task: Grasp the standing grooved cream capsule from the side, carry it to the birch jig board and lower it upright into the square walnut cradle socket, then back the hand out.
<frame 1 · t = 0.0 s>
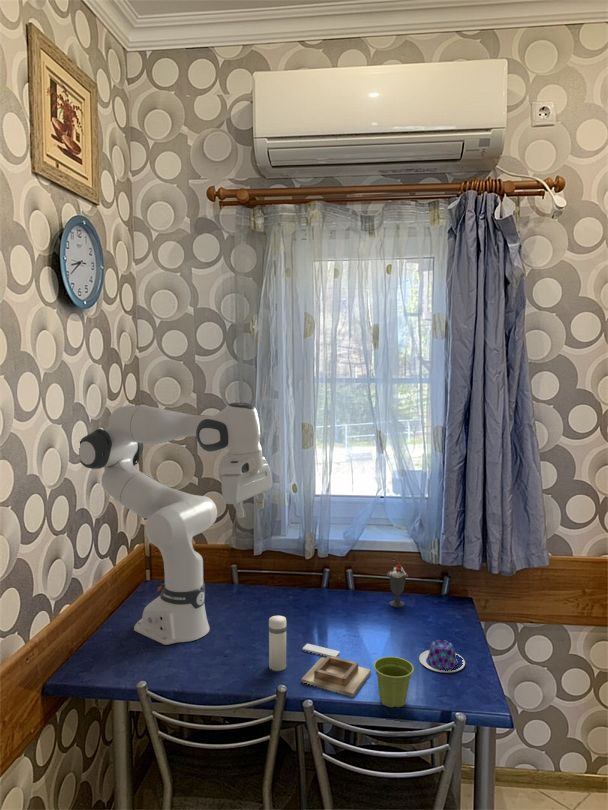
hand: (251, 512, 168), 39 cm above the table, tool pointing down, fingers open, 8 cm apart
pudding: (441, 663, 166), on the table
grooved cream capsule: (277, 666, 163), on the table
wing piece: (321, 653, 171), on the table
plant pot: (392, 701, 148), on the table
sundae: (397, 604, 201), on the table
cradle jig: (336, 677, 158), on the table
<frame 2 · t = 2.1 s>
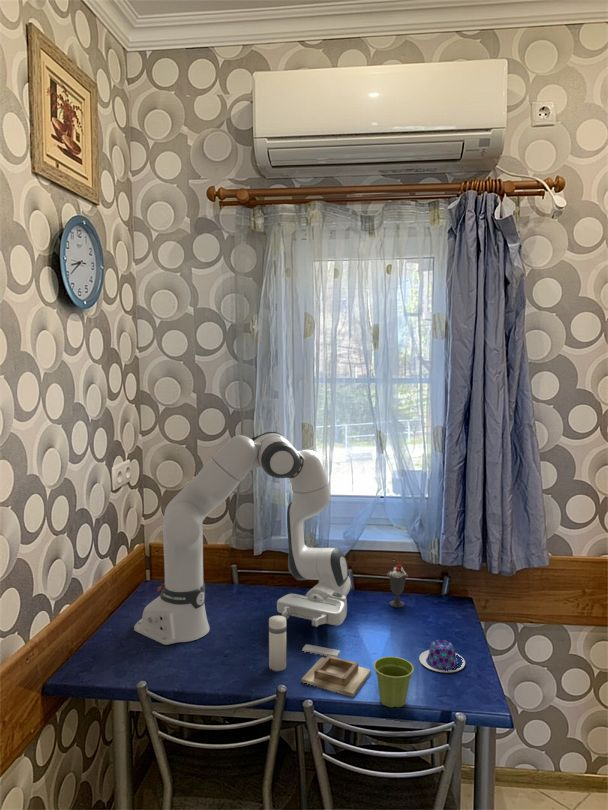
hand: (298, 620, 173), 8 cm above the table, tool horizontal, fingers open, 8 cm apart
nothing on the table moved.
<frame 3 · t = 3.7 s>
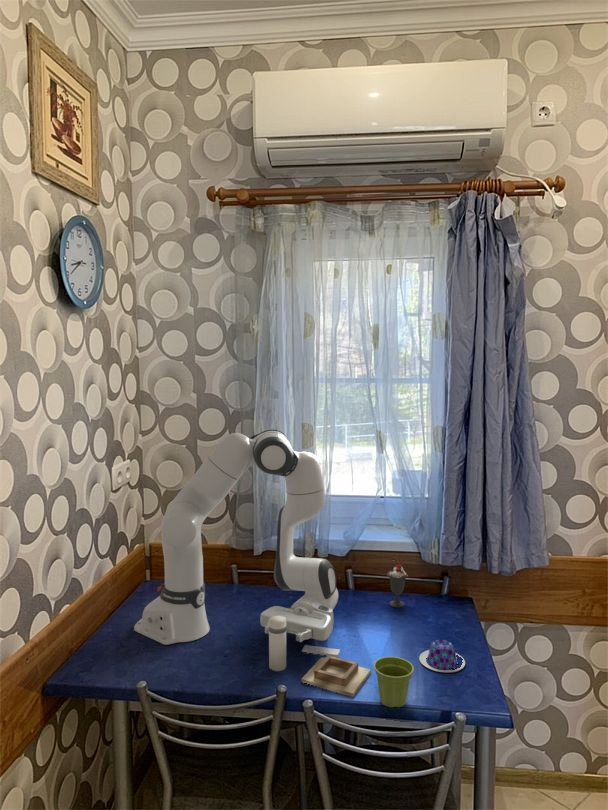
hand: (282, 635, 165), 7 cm above the table, tool horizontal, fingers open, 8 cm apart
nothing on the table moved.
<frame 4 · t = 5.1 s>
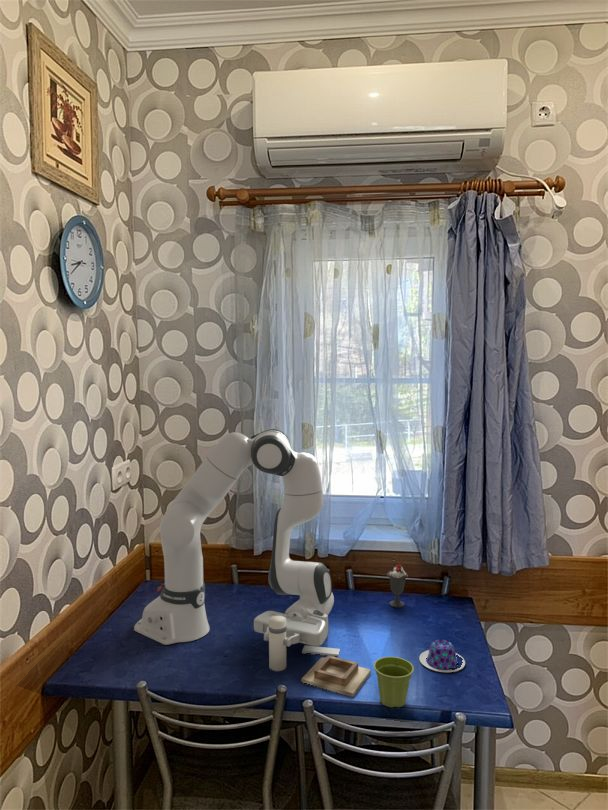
hand: (276, 640, 161), 8 cm above the table, tool horizontal, fingers closed on grooved cream capsule, 4 cm apart
grooved cream capsule: (277, 666, 163), on the table, touching gripper
everything else where it was.
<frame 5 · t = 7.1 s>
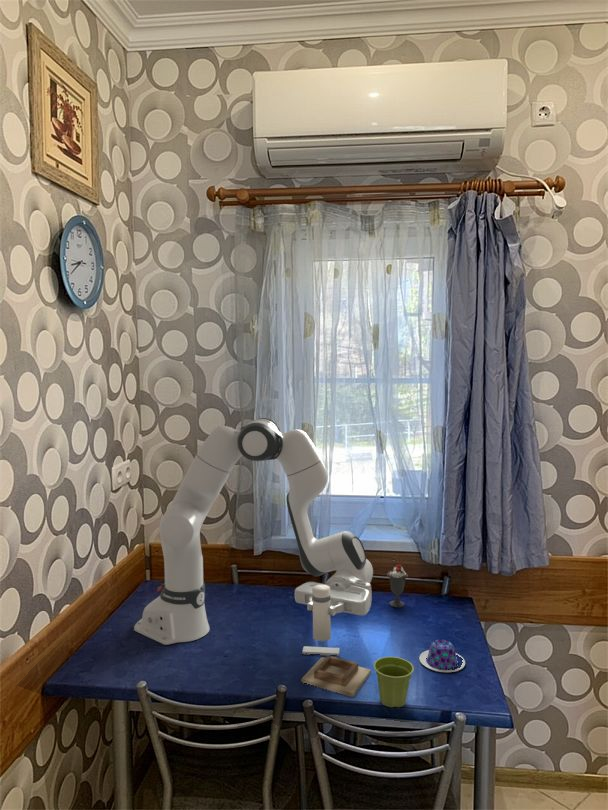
hand: (320, 610, 157), 18 cm above the table, tool horizontal, fingers closed on grooved cream capsule, 4 cm apart
grooved cream capsule: (321, 636, 158), point 10 cm above the table, touching gripper
everything else where it was.
when the fingers open (10 cm above the table, at t = 9.3 s): grooved cream capsule stays where it is, resting on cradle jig.
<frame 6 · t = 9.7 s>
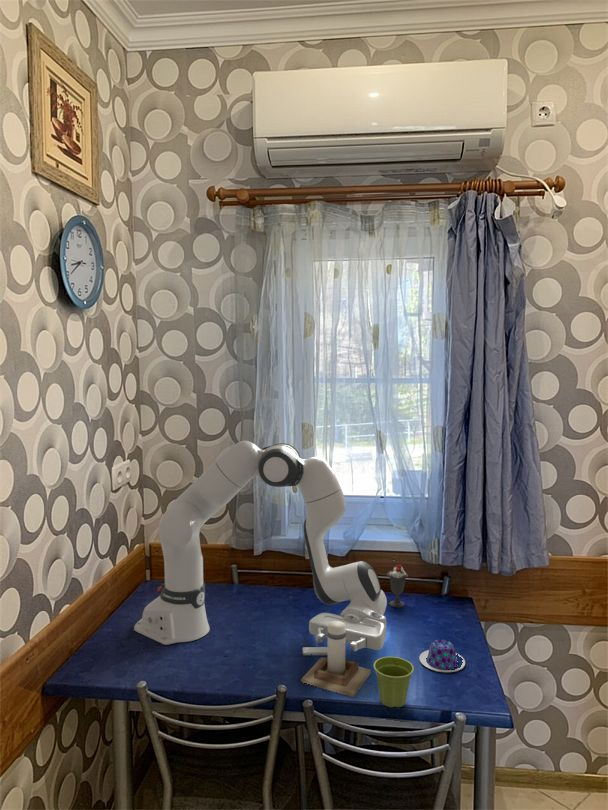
hand: (335, 643, 156), 10 cm above the table, tool horizontal, fingers open, 8 cm apart
grooved cream capsule: (336, 673, 158), point 1 cm above the table, touching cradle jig
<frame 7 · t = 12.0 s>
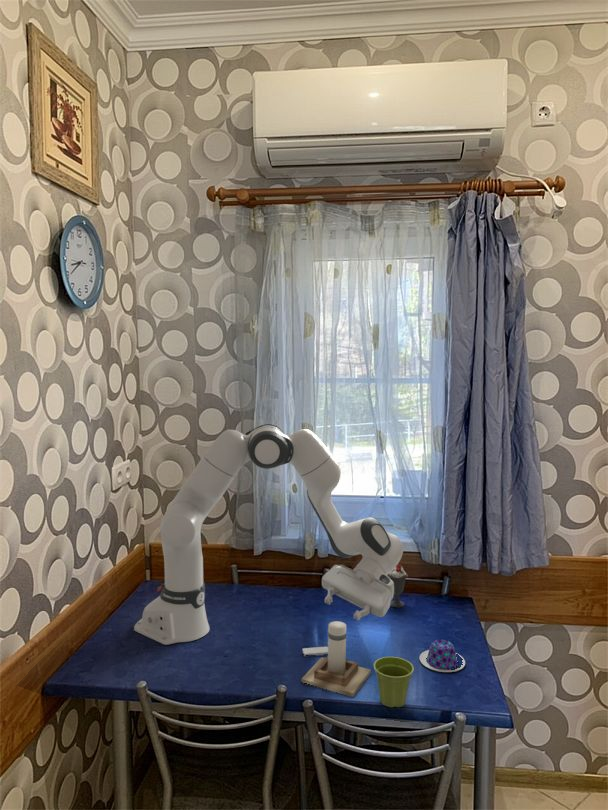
hand: (340, 609, 168), 13 cm above the table, tool tilted 70°, fingers open, 8 cm apart
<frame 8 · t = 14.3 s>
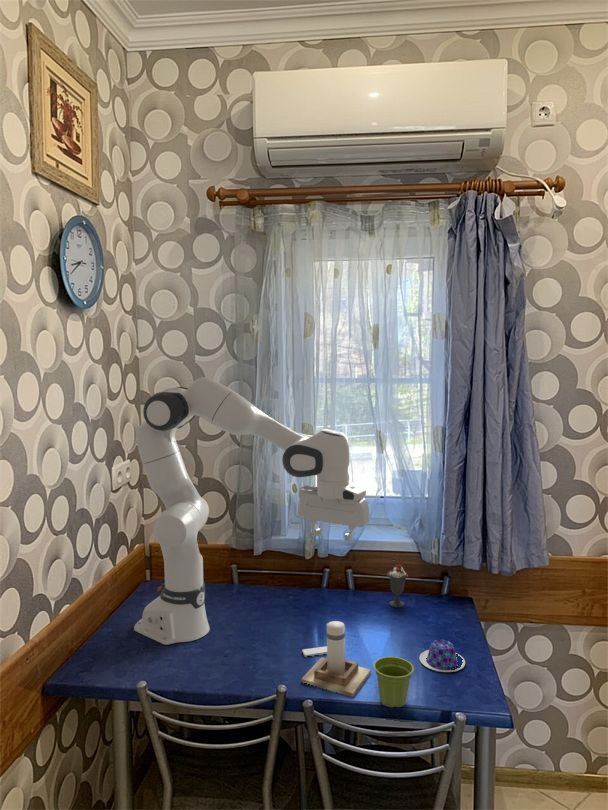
hand: (332, 537, 171), 31 cm above the table, tool pointing down, fingers open, 8 cm apart
at the end: grooved cream capsule 0.1 cm off-centre on the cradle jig, point 1.0 cm above the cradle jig's base; grooved cream capsule tilted 1°; the gripper is holding nothing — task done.
